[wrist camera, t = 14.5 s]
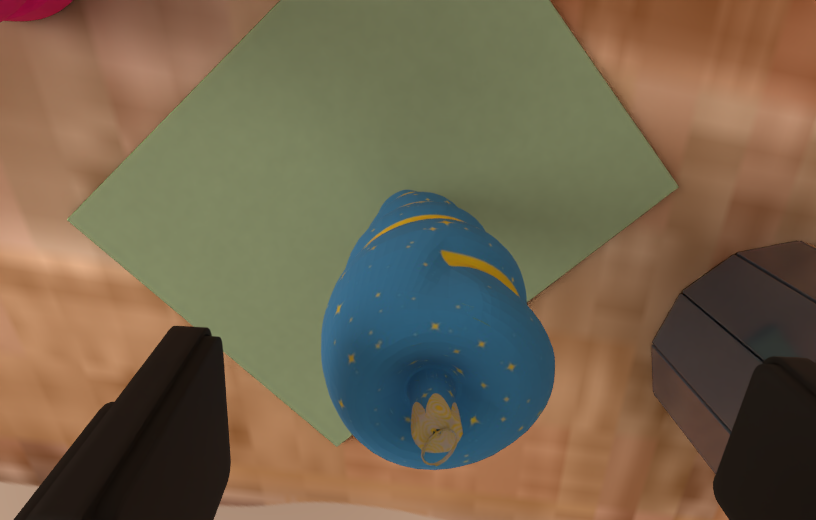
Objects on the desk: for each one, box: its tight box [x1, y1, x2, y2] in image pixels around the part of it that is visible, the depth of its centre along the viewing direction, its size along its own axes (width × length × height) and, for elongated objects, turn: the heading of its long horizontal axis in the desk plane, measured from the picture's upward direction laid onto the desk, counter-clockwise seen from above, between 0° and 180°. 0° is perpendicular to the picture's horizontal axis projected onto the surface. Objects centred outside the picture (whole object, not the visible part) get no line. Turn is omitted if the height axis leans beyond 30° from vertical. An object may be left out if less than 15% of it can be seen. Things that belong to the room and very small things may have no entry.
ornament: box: [321, 190, 555, 470], centre depth 16 cm, size 5×5×15 cm
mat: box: [67, 0, 678, 446], centre depth 23 cm, size 20×16×1 cm
